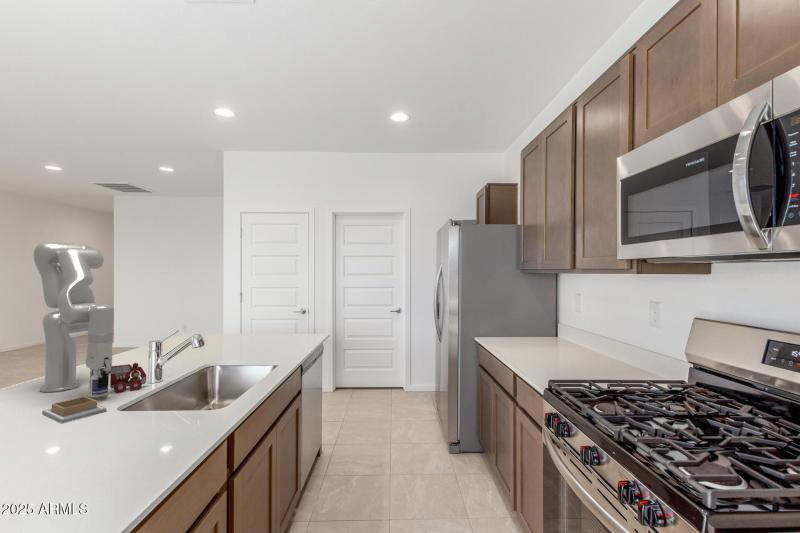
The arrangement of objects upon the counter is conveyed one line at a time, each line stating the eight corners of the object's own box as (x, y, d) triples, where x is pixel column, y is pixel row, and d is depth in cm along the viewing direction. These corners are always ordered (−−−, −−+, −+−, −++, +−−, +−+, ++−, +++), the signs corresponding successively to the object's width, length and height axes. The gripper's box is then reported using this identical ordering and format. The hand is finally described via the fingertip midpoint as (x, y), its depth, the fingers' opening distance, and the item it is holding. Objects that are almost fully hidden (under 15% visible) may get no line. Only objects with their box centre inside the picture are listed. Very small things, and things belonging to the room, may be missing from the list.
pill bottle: (111, 393, 145) (112, 368, 145) (96, 398, 140) (96, 371, 140) (101, 391, 147) (102, 366, 147) (86, 395, 142) (87, 369, 142)
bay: (42, 413, 128) (42, 403, 128) (85, 403, 138) (85, 393, 138) (61, 423, 120) (62, 412, 120) (106, 411, 130) (106, 401, 130)
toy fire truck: (147, 388, 156) (147, 363, 156) (109, 394, 148) (109, 368, 148) (145, 384, 161) (145, 360, 162) (108, 390, 154) (108, 364, 154)
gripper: (78, 336, 145) (77, 384, 145) (99, 342, 136) (97, 393, 136) (101, 333, 151) (100, 379, 151) (123, 339, 143) (121, 387, 143)
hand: (99, 385), depth 144 cm, fingers closed on pill bottle, 5 cm apart
